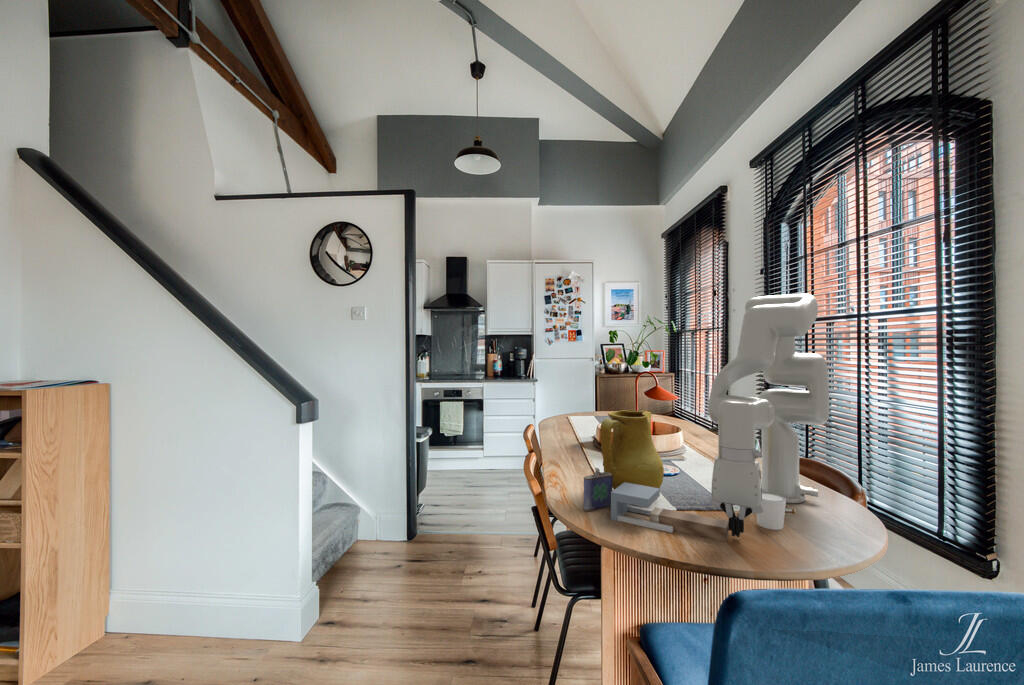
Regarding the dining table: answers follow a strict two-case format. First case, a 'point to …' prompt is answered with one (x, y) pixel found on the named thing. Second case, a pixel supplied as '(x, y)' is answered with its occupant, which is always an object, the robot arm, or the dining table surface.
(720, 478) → the robot arm
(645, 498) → the grey block with rails
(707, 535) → the walnut slat
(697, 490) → the dining table surface
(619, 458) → the pitcher
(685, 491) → the dining table surface
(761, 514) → the white short cylinder
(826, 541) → the dining table surface
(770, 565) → the dining table surface
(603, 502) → the flask
